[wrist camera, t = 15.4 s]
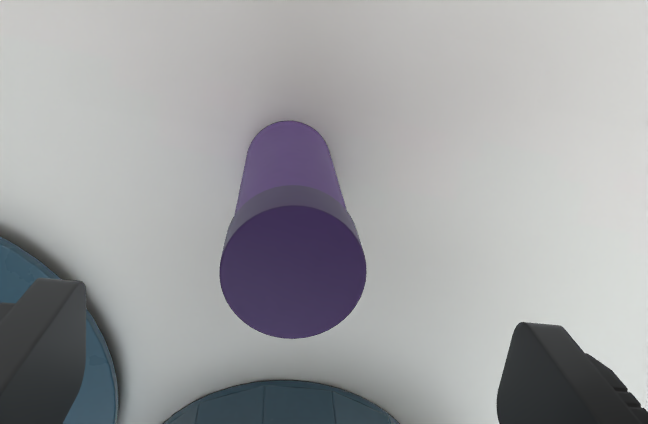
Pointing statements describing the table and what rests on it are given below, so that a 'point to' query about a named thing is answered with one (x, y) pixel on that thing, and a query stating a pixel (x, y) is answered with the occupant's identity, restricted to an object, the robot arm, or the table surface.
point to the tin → (282, 406)
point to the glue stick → (291, 238)
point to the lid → (99, 376)
